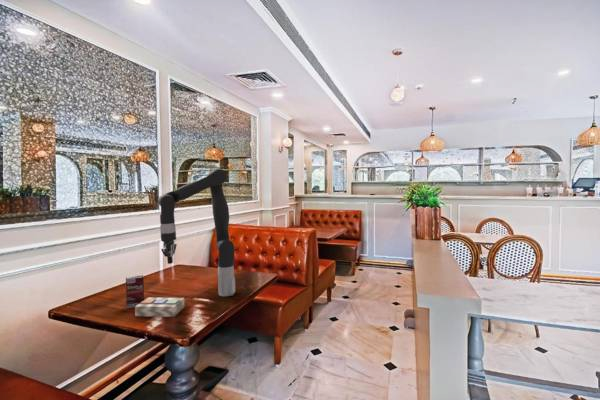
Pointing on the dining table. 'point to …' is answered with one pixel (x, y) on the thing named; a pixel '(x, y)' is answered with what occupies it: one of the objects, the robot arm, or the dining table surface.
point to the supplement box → (134, 291)
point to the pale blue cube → (160, 301)
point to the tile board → (159, 308)
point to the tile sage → (172, 301)
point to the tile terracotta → (148, 301)
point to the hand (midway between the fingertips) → (170, 263)
